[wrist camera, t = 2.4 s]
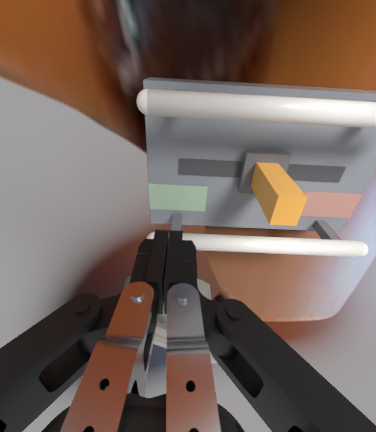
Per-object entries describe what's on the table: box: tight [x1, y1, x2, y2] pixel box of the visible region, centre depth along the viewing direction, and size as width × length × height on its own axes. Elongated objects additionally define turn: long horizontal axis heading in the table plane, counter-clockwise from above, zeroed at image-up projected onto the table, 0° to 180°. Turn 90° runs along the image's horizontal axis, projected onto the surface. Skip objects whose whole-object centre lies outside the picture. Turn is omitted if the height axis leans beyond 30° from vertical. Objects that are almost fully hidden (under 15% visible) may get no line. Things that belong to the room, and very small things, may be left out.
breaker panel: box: [136, 77, 376, 257], centre depth 22 cm, size 14×22×9 cm, turn 87°
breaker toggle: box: [238, 150, 308, 226], centre depth 19 cm, size 4×4×7 cm
